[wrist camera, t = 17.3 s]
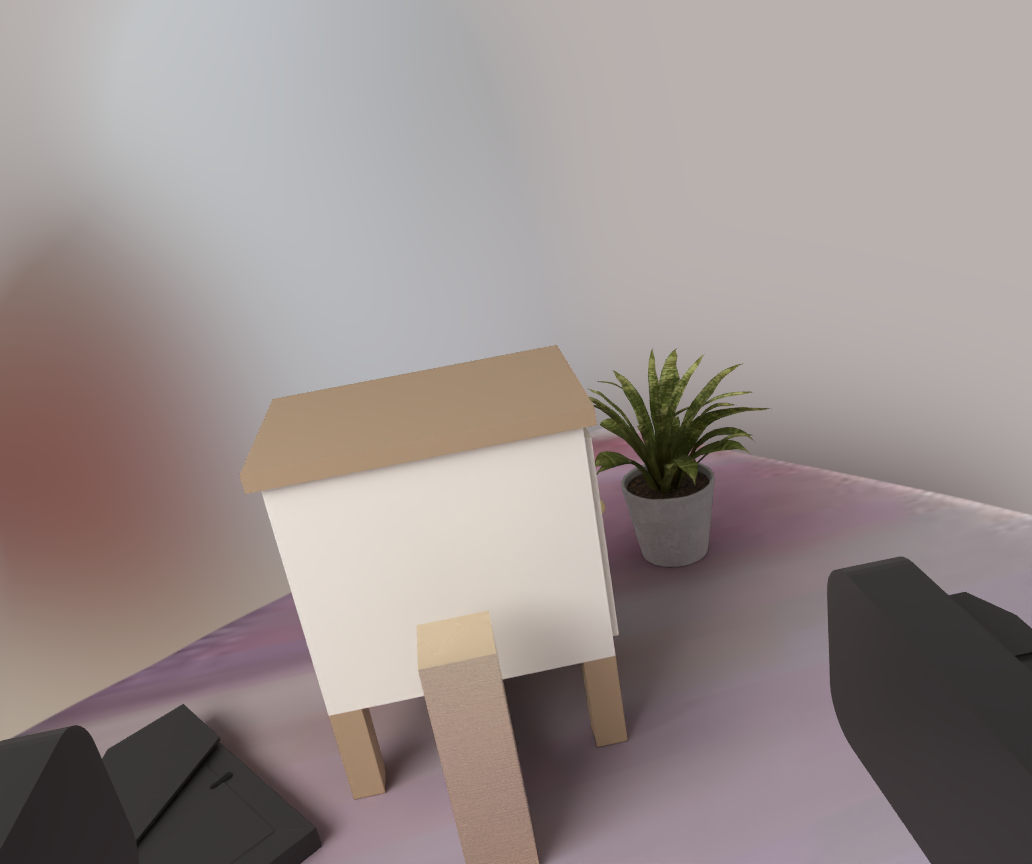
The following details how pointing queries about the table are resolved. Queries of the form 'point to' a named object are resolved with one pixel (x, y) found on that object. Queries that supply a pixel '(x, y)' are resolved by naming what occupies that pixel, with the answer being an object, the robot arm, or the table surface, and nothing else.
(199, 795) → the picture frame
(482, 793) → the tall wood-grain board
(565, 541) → the cabinet
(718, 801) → the table surface
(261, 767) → the table surface
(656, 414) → the house plant
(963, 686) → the robot arm
